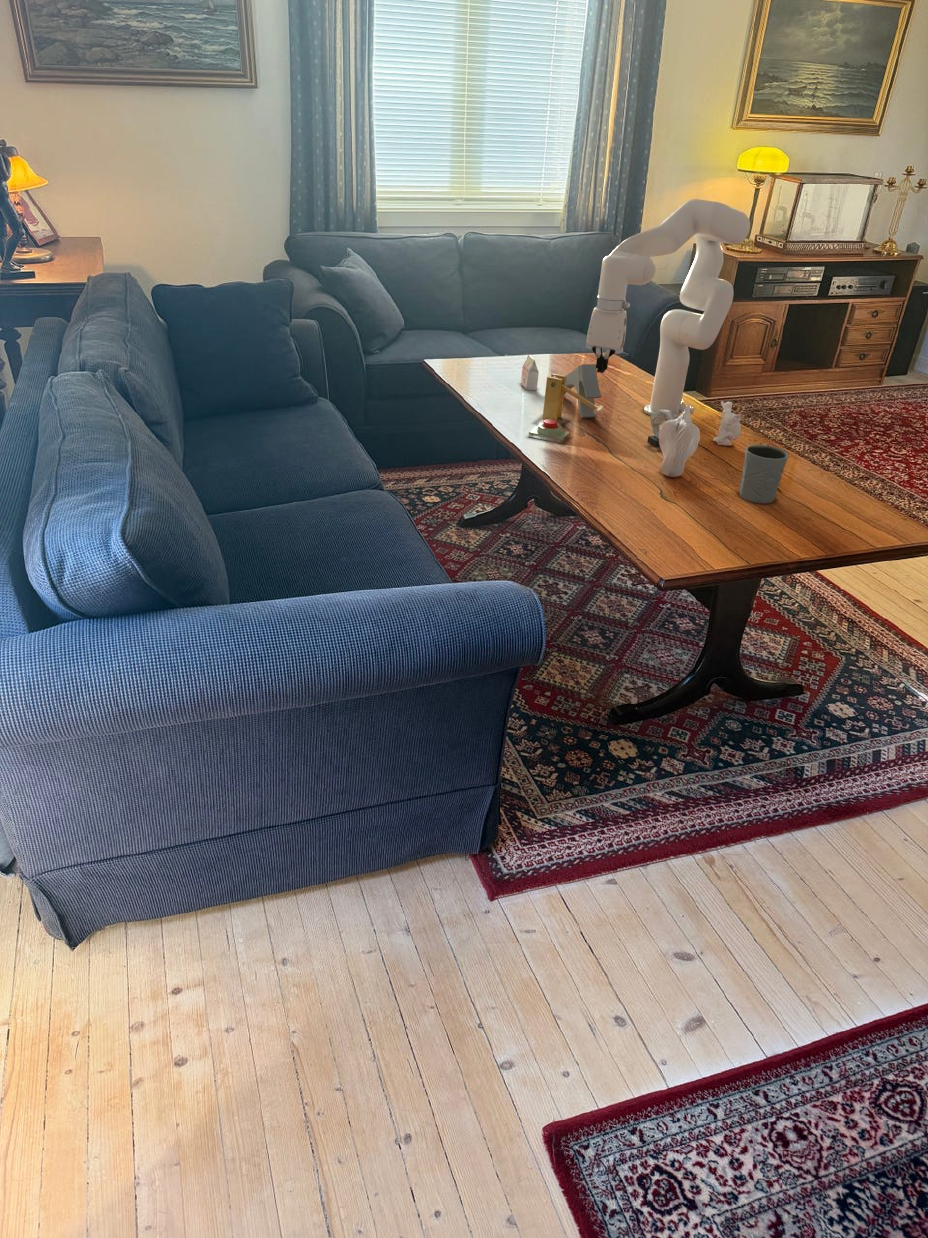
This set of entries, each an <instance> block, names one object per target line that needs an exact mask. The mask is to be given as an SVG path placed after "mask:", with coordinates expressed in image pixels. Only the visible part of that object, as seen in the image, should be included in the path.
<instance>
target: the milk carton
mask: <svg viewBox="0 0 928 1238" xmlns="http://www.w3.org/2000/svg"><path fill="white" fill-rule="evenodd" d="M539 374H540V373H539V370H538V367H537V364H536V359H535V358H533V357H532V356H531V354H527V357H526V359H525V361H524V363H523V365H522V367H521V377H520V385H521V386H522V387H523V388H524V389H525V390H526V391H537V390H538V381H539Z"/></svg>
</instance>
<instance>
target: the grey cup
mask: <svg viewBox="0 0 928 1238" xmlns="http://www.w3.org/2000/svg"><path fill="white" fill-rule="evenodd" d="M744 453H745V454H744V461H743V470H742V475H741V482H740V485H739V497H740V498H742V499H743V500H745V501H747V502H750V503H755V504H762V505H763V504H764V505H765V504H766V505H767V504H770V503H773V502H774V501H775V498H776V495H777V492H778V488H779V485H780V484H781V480H782V474H783V473H784V469H785V467H786V464H787V461H788V458H789V453H788V452H787V451H785V450H783V449H782V448H779V447H776V446H771V445H767V444H766V445H765V444H753V445H749V446H747V447H746V448H745V452H744Z"/></svg>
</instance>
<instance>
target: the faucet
mask: <svg viewBox="0 0 928 1238" xmlns="http://www.w3.org/2000/svg"><path fill="white" fill-rule="evenodd" d="M564 376H566V383H565V386H566V387H568V388H569V389H571V390H572V389H573V388H575V390H576V393H577V394H579V395H580V396H582V397H583V398H585V399H586V400H588V401H590V402H591V403H593V404H594V405H596V403H595V399H601V398H602V393H601V389H600V386H599V381H598V372H597V368H596V363H594V364H593V363H591V364H590V363H589V364H587V363H586V364H580V365H578V366H577V368H575V369H573V370H572V371H571V372H569V373H568V374H566V375H564ZM566 394H567V392H566V391H564V396H565V395H566ZM577 402H578V404H577V405H578V417H579V418H580V419H582V420H583V419H596V418H597V417H598V416H597V415H598V414H597V415H595V414H594V409H592V408H591V407H589V406H588V405H586V404H584V403H583V402H581V401H580V400H578V399H577Z"/></svg>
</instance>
